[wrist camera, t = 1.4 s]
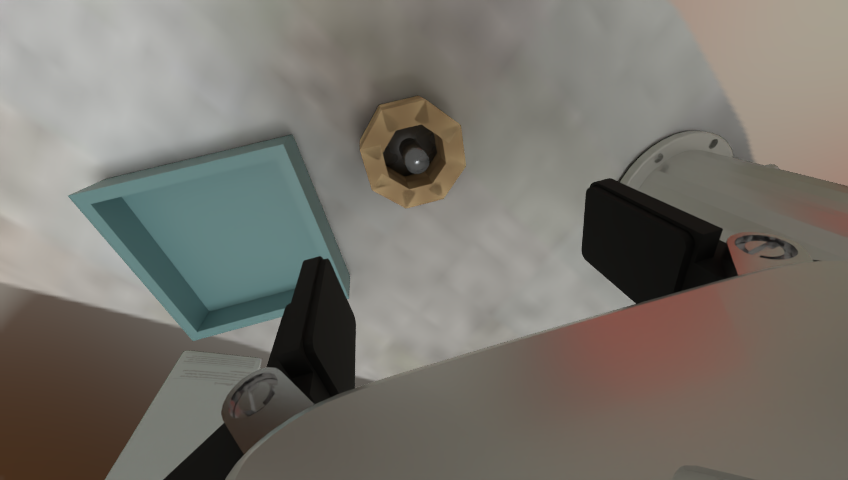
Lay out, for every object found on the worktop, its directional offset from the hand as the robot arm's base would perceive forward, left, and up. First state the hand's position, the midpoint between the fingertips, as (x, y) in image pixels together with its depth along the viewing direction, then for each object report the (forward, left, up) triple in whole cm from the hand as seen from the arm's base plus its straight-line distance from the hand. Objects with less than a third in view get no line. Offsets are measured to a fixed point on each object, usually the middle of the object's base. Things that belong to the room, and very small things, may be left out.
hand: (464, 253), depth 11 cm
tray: (+15, +4, -16) cm, 22 cm away
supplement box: (+25, +19, -17) cm, 35 cm away
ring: (0, 0, -15) cm, 15 cm away
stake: (0, 0, -16) cm, 16 cm away
